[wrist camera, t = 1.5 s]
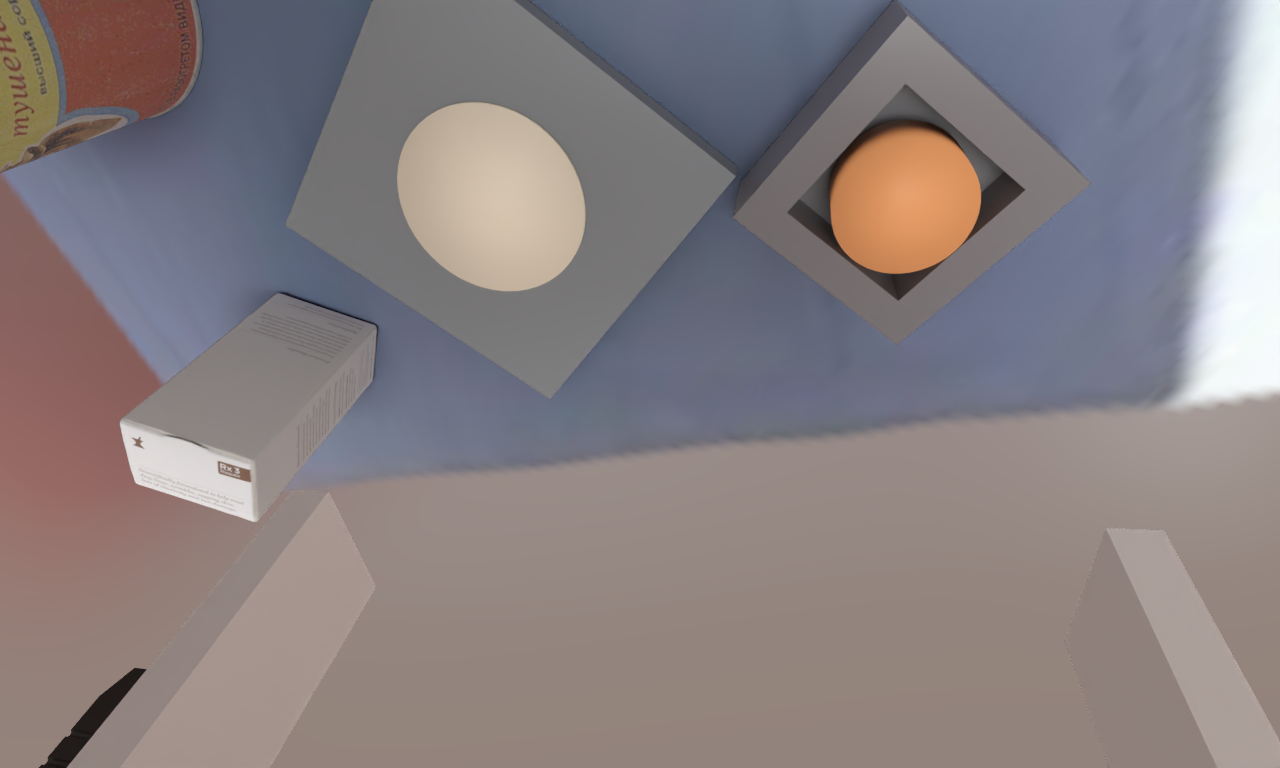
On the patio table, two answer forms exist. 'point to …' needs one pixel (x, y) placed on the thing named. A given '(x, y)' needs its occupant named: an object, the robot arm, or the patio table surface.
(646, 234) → the slate board
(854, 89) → the button box
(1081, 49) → the patio table surface
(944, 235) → the button
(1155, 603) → the robot arm
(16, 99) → the canned food
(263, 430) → the skincare box
